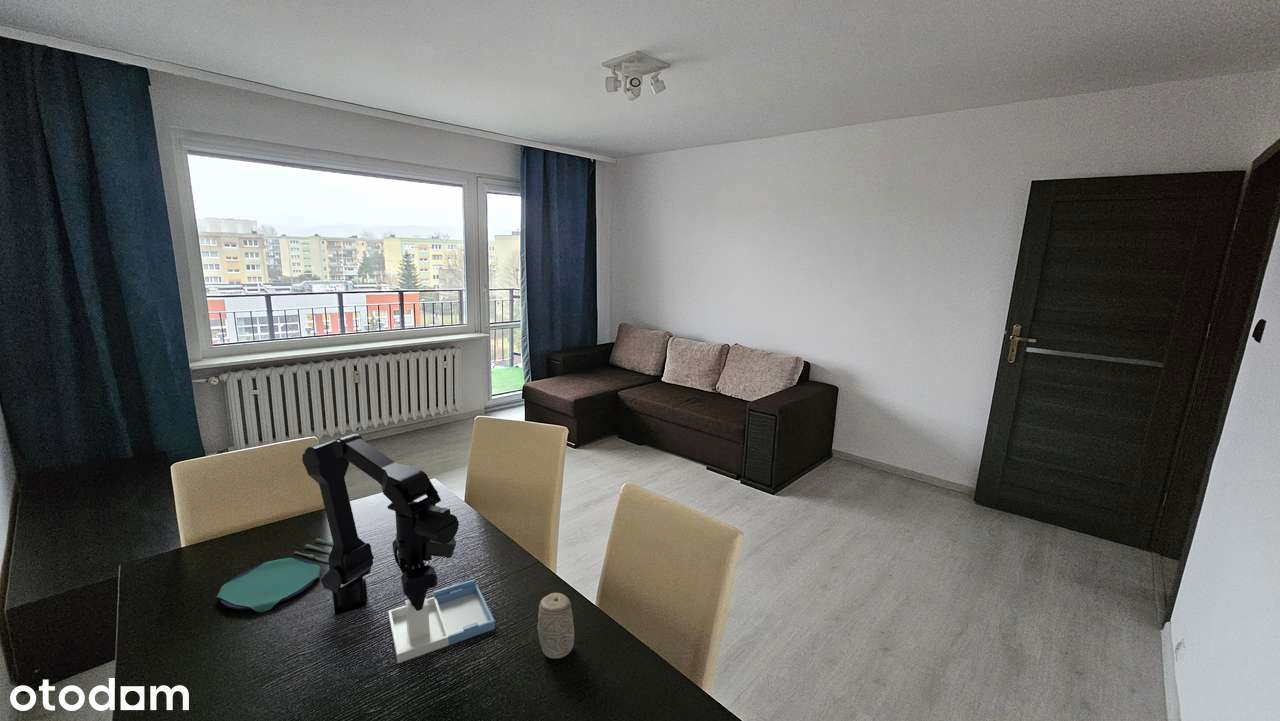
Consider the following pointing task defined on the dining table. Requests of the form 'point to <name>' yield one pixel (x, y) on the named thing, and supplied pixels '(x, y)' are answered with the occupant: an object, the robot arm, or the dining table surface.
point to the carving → (555, 625)
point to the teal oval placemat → (272, 582)
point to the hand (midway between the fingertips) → (415, 597)
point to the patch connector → (417, 620)
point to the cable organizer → (443, 621)
